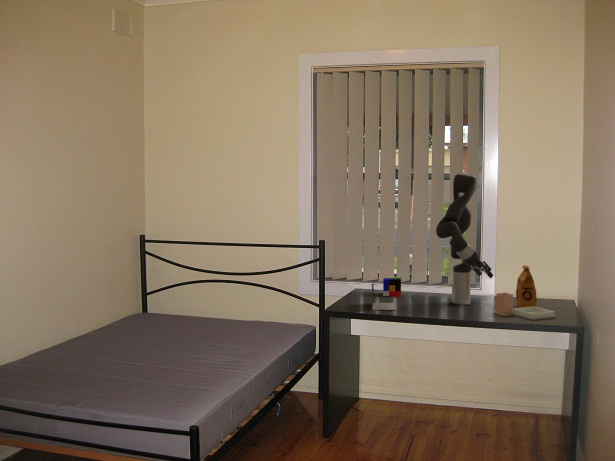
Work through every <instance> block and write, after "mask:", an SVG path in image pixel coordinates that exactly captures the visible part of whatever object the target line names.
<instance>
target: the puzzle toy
mask: <svg viewBox="0 0 615 461" xmlns="http://www.w3.org/2000/svg"><path fill="white" fill-rule="evenodd" d="M382 282H383V283H382V284H383V285H382V288H383V290H382V296H394V297H393V298H401V297H402V277H401V276H384V277H383V281H382Z"/></svg>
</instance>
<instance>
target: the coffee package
mask: <svg viewBox="0 0 615 461" xmlns="http://www.w3.org/2000/svg"><path fill="white" fill-rule="evenodd" d="M522 269H523V270H522V271H521V273H520V274H519V276H518V277H517V282H516V288H515V289H516V290H515V298H516V299H515V300H516V306H517V308H522V307H532V306H535V307H537V289H536V286H535V280H534V277H533V276H532V273H531V271H530V266H528V265H526V264H524V265H522Z"/></svg>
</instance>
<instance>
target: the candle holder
mask: <svg viewBox="0 0 615 461" xmlns="http://www.w3.org/2000/svg"><path fill="white" fill-rule="evenodd" d="M492 314H495V315H498V316H502V317H507V316H514V315H513V313H501V312H497V311H496V310H492Z"/></svg>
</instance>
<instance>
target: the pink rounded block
mask: <svg viewBox="0 0 615 461" xmlns="http://www.w3.org/2000/svg"><path fill="white" fill-rule="evenodd" d="M495 297H496V298H495V299H496V300H495V302H496V303H495V311H497V312H501V313H512V309H513V308H514V307H513V306H514V294H513V293H509V292H498V293H496V296H495Z"/></svg>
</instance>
